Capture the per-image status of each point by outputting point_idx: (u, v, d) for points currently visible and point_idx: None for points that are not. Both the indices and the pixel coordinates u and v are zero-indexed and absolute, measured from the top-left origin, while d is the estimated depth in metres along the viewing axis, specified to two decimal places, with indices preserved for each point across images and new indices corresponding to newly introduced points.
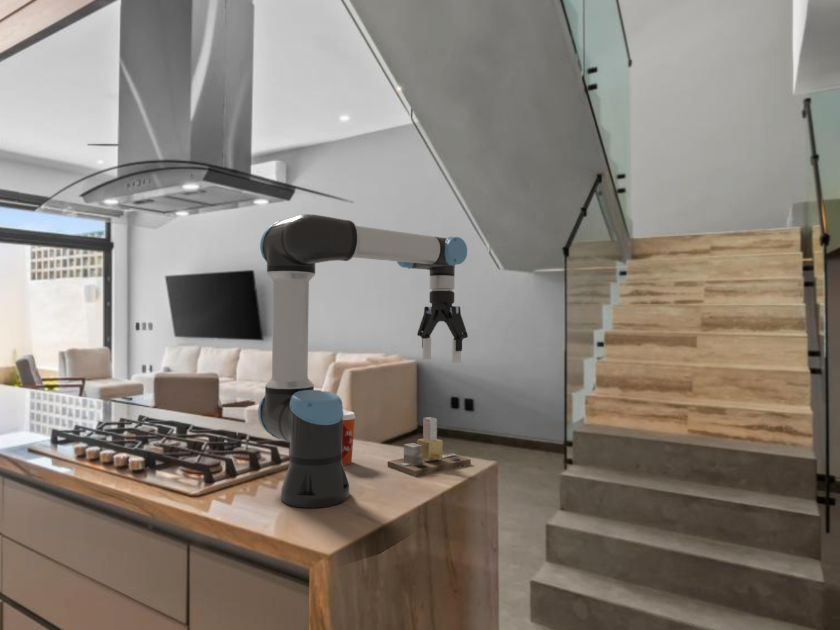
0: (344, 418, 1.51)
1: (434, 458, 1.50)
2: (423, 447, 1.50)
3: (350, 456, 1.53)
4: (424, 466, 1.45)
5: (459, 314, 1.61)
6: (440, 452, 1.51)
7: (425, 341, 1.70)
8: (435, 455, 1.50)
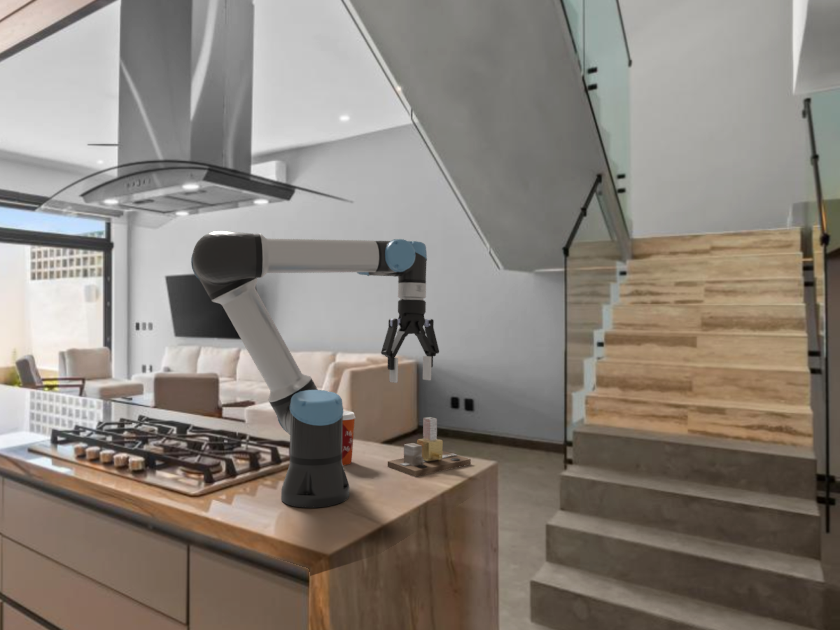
0: (344, 418, 1.51)
1: (434, 458, 1.50)
2: (423, 447, 1.50)
3: (350, 456, 1.53)
4: (424, 466, 1.45)
5: (392, 328, 1.43)
6: (440, 452, 1.51)
7: (424, 359, 1.52)
8: (435, 455, 1.50)
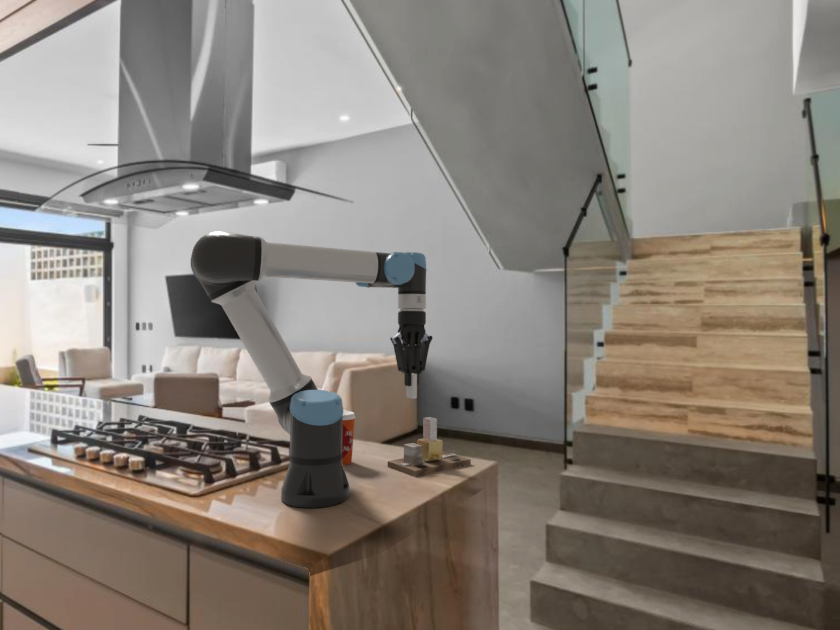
0: (344, 418, 1.51)
1: (434, 458, 1.50)
2: (423, 447, 1.50)
3: (350, 456, 1.53)
4: (424, 466, 1.45)
5: (397, 346, 1.44)
6: (440, 452, 1.51)
7: None
8: (435, 455, 1.50)
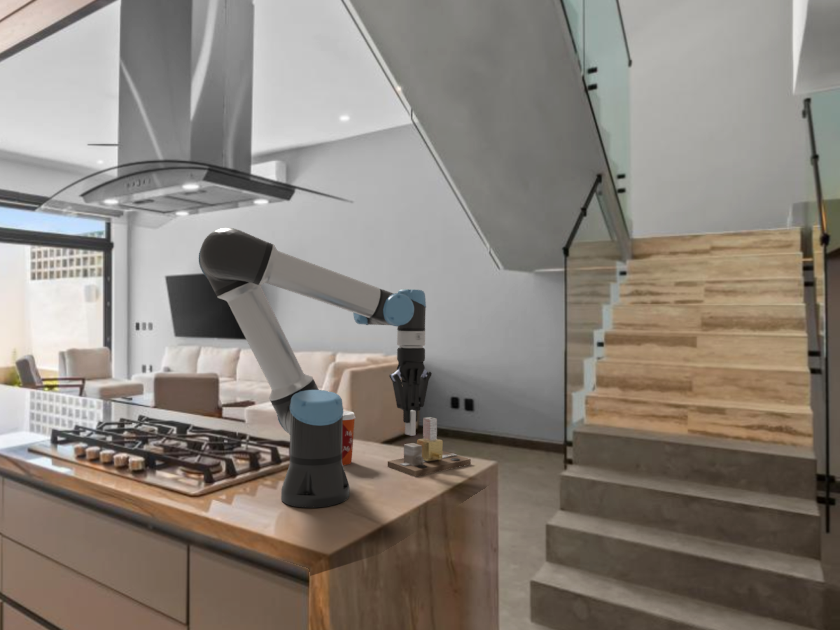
0: (344, 418, 1.51)
1: (434, 458, 1.50)
2: (423, 447, 1.50)
3: (350, 456, 1.53)
4: (424, 466, 1.45)
5: (396, 383, 1.44)
6: (440, 452, 1.51)
7: None
8: (435, 455, 1.50)
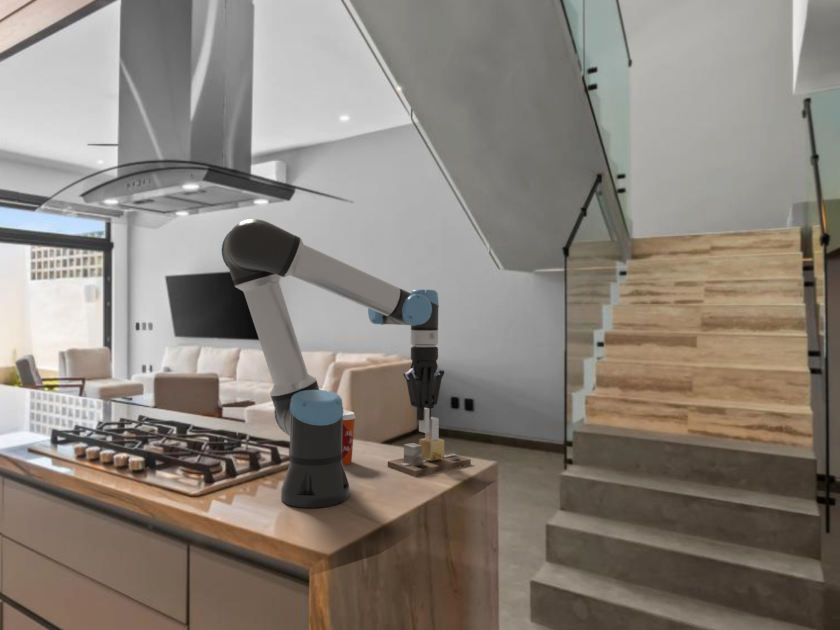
0: (344, 418, 1.51)
1: (436, 458, 1.50)
2: (425, 447, 1.51)
3: (350, 456, 1.53)
4: (424, 466, 1.45)
5: (410, 381, 1.47)
6: (442, 452, 1.52)
7: None
8: (437, 455, 1.50)
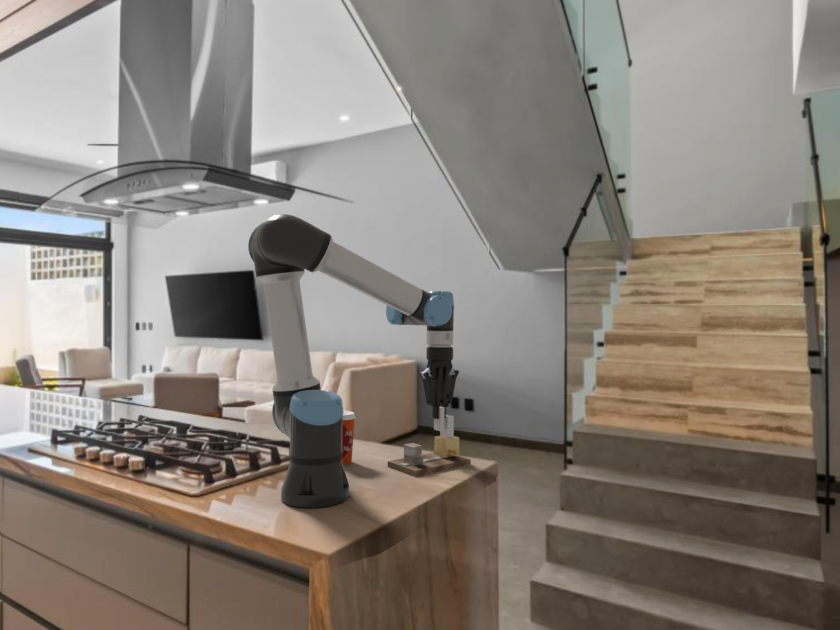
0: (344, 418, 1.51)
1: (451, 455, 1.54)
2: (441, 444, 1.54)
3: (350, 456, 1.53)
4: (424, 466, 1.45)
5: (426, 381, 1.51)
6: (457, 449, 1.55)
7: None
8: (452, 452, 1.54)
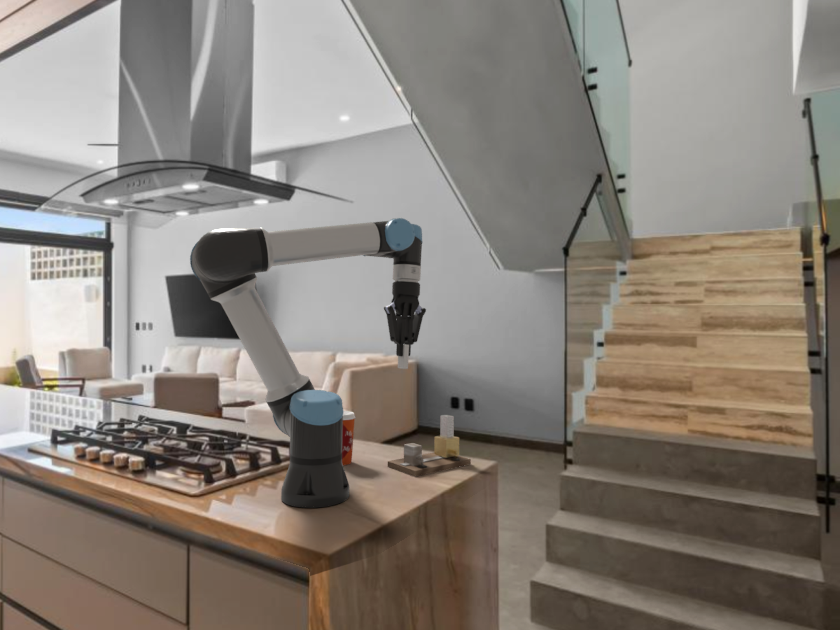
0: (344, 418, 1.51)
1: (451, 455, 1.54)
2: (441, 444, 1.54)
3: (350, 456, 1.53)
4: (424, 466, 1.45)
5: (390, 315, 1.45)
6: (457, 449, 1.55)
7: None
8: (452, 452, 1.54)
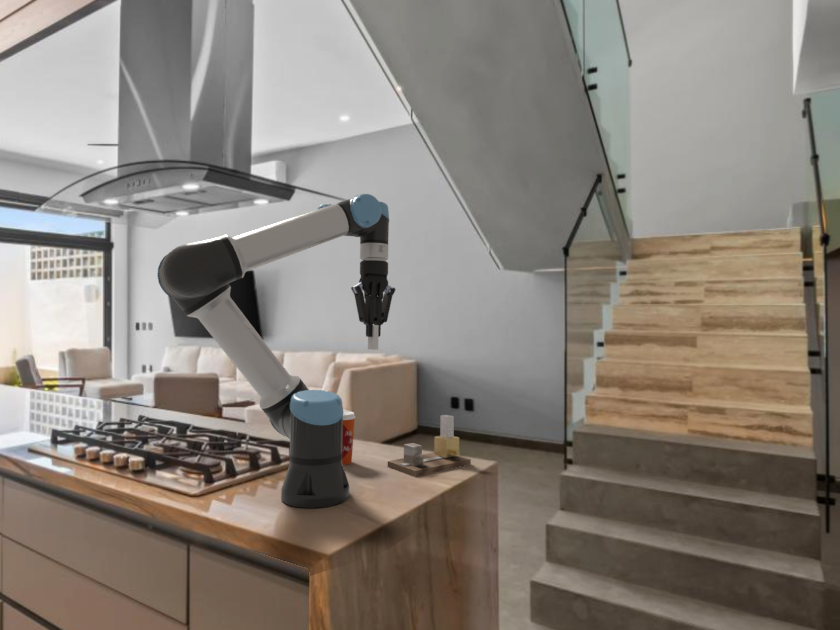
0: (344, 418, 1.51)
1: (451, 455, 1.54)
2: (441, 444, 1.54)
3: (350, 456, 1.53)
4: (424, 466, 1.45)
5: (358, 295, 1.42)
6: (457, 449, 1.55)
7: None
8: (452, 452, 1.54)
